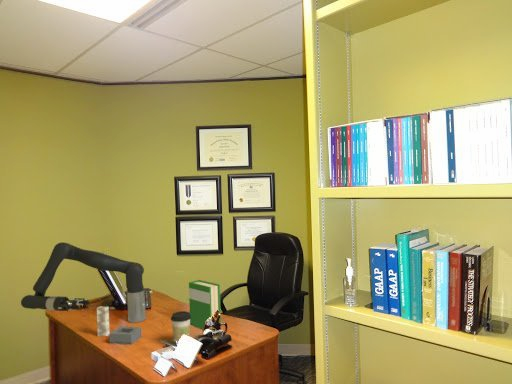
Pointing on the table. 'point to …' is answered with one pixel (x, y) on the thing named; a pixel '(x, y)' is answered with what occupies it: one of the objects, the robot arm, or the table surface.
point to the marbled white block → (103, 321)
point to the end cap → (125, 335)
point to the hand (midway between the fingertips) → (83, 304)
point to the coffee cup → (180, 324)
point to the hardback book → (203, 302)
